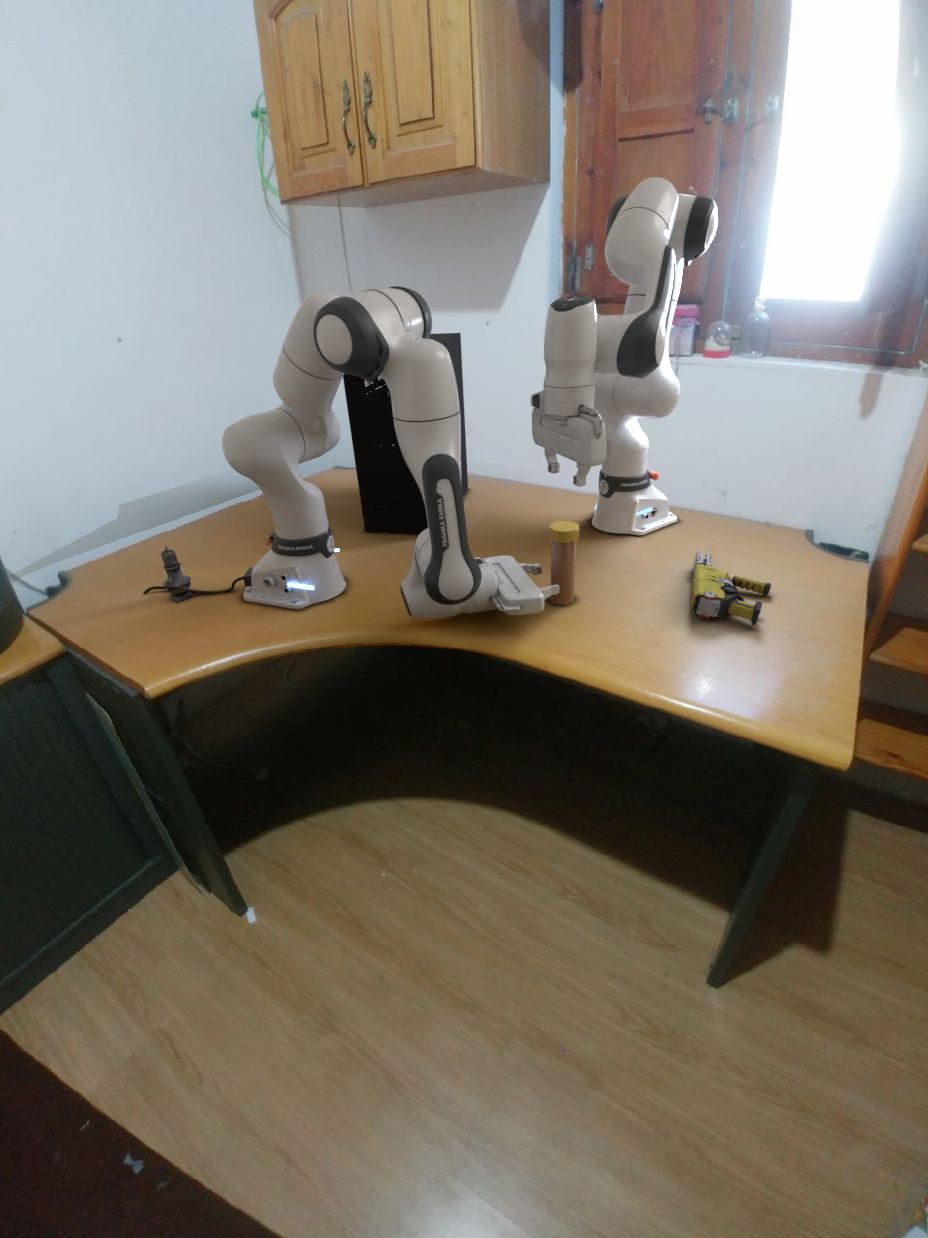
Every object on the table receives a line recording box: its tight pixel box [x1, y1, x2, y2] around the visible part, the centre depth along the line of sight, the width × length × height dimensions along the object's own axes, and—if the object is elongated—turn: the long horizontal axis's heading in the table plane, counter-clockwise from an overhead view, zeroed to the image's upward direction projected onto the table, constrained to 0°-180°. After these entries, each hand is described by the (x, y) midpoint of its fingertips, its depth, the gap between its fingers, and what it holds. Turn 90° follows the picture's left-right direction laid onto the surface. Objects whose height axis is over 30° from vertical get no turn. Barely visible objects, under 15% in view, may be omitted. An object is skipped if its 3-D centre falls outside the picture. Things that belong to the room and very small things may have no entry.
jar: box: [549, 539, 577, 606], centre depth 121 cm, size 5×5×16 cm
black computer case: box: [342, 332, 469, 535], centre depth 166 cm, size 38×20×45 cm, turn 167°
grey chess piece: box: [160, 546, 195, 602], centre depth 132 cm, size 6×6×12 cm
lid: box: [548, 520, 580, 543], centre depth 118 cm, size 6×6×2 cm
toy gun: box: [690, 551, 772, 626], centre depth 121 cm, size 5×24×15 cm
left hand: (549, 577), depth 122 cm, fingers open, 8 cm apart
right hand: (566, 478), depth 112 cm, fingers open, 8 cm apart
